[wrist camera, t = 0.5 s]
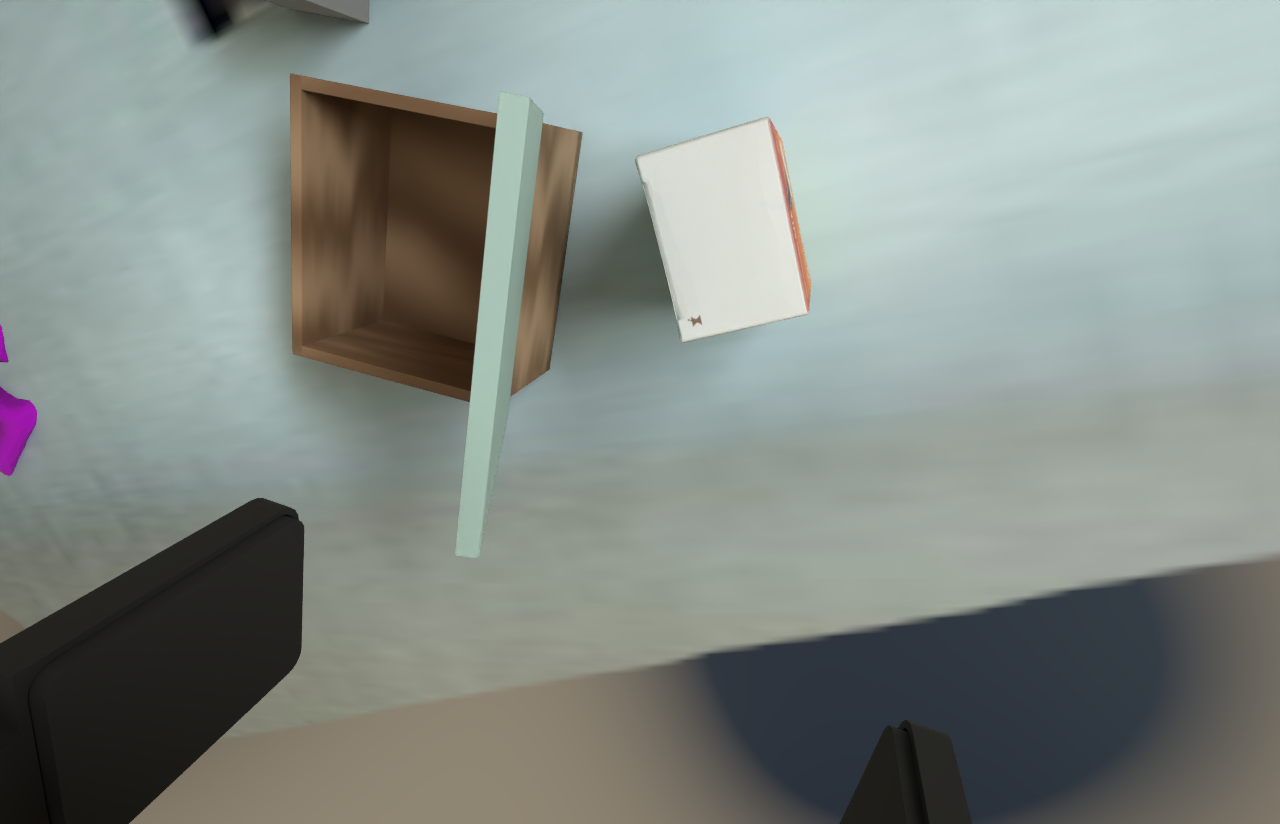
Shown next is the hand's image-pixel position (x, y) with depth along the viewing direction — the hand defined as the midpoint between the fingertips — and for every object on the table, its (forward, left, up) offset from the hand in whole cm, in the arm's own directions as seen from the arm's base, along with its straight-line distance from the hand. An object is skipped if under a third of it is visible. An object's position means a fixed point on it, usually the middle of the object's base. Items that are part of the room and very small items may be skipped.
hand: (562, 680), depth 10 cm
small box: (-5, -1, -30) cm, 31 cm away
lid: (-1, -9, -16) cm, 19 cm away
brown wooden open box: (-1, -17, -30) cm, 35 cm away
